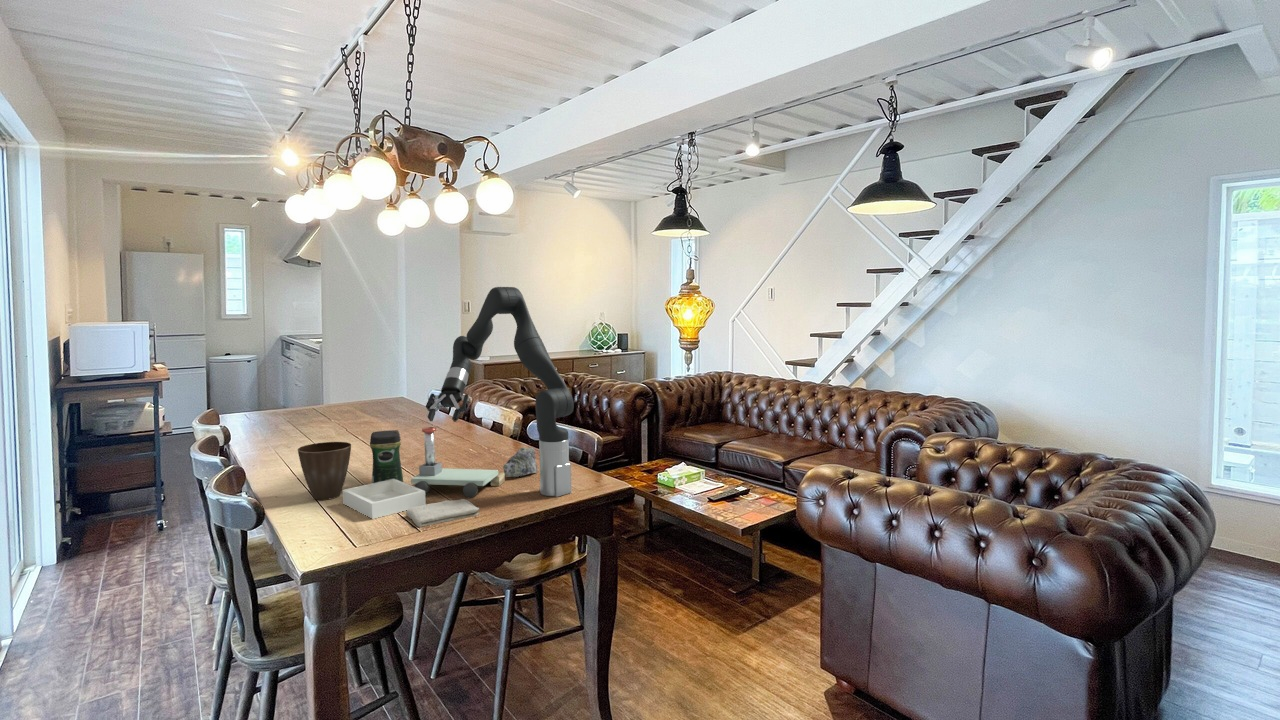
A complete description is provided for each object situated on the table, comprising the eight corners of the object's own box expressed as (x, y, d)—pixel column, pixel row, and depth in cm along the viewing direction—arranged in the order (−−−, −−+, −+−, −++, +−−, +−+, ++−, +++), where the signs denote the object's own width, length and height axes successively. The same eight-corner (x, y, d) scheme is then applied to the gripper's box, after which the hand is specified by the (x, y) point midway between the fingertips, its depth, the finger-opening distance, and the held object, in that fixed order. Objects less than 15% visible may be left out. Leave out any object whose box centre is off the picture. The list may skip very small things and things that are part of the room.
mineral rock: (504, 481, 209) (503, 452, 208) (498, 473, 218) (498, 445, 218) (541, 477, 214) (541, 448, 213) (534, 469, 223) (534, 442, 223)
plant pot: (335, 487, 203) (333, 439, 202) (363, 493, 195) (361, 444, 194) (290, 499, 190) (287, 448, 189) (318, 506, 183) (315, 454, 181)
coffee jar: (403, 481, 209) (401, 427, 208) (403, 487, 202) (400, 432, 200) (372, 484, 206) (370, 429, 205) (371, 490, 199) (368, 434, 197)
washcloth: (481, 516, 175) (481, 505, 175) (417, 530, 164) (417, 519, 164) (466, 505, 185) (466, 495, 184) (405, 518, 174) (405, 507, 174)
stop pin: (440, 473, 200) (438, 428, 199) (427, 476, 197) (426, 430, 196) (433, 470, 203) (431, 426, 202) (421, 473, 200) (419, 428, 199)
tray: (425, 505, 183) (425, 490, 183) (372, 519, 171) (371, 503, 171) (394, 492, 197) (393, 478, 196) (343, 504, 185) (342, 489, 184)
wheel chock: (504, 481, 208) (504, 472, 207) (499, 486, 203) (499, 476, 202) (496, 481, 208) (495, 472, 208) (490, 485, 203) (490, 476, 203)
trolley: (500, 483, 206) (499, 460, 205) (481, 498, 190) (481, 472, 189) (432, 481, 209) (431, 458, 208) (409, 495, 193) (408, 470, 192)
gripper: (432, 376, 217) (418, 413, 206) (471, 376, 215) (458, 414, 204) (440, 388, 222) (426, 426, 212) (477, 389, 220) (465, 426, 210)
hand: (442, 420), depth 208 cm, fingers open, 8 cm apart
